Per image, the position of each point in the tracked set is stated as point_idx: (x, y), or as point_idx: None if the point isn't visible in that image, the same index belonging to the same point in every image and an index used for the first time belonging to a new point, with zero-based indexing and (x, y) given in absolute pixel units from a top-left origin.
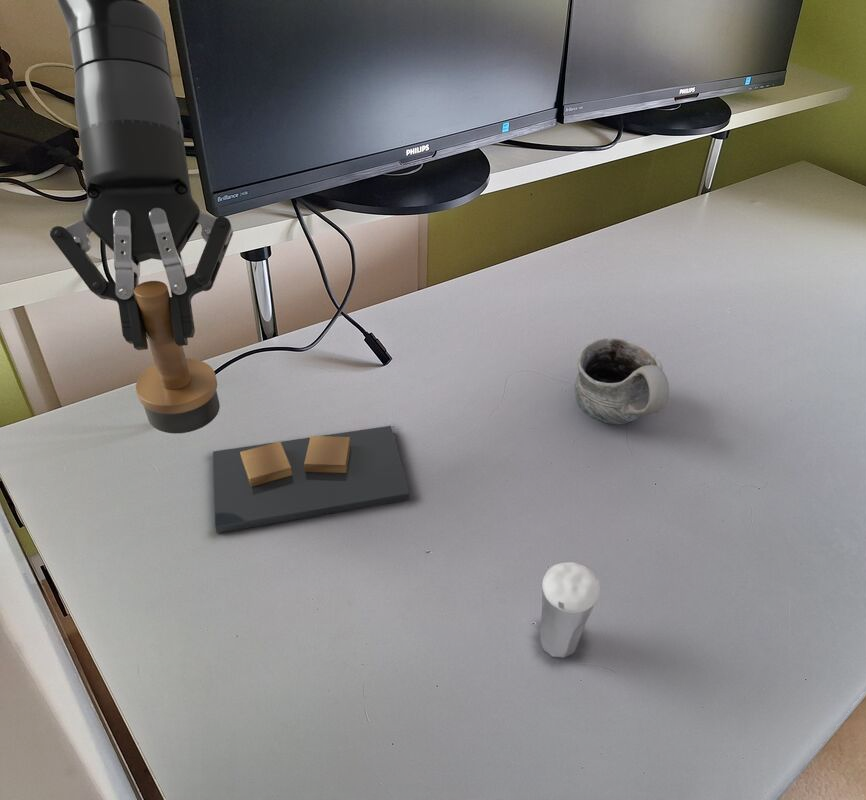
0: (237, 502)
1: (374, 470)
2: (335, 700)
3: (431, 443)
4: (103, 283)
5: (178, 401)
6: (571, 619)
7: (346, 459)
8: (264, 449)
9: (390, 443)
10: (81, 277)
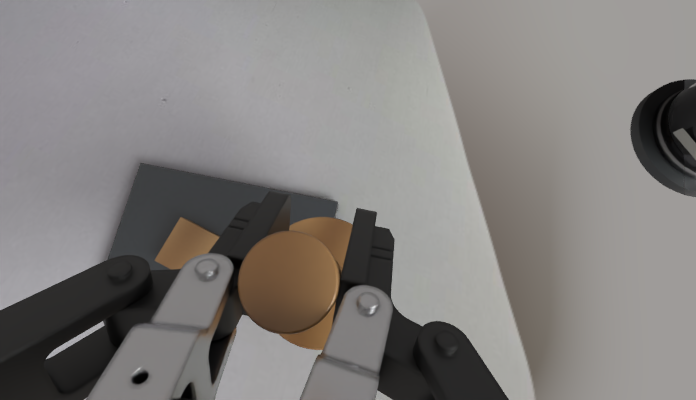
0: None
1: (156, 209)
2: (296, 8)
3: (78, 236)
4: (425, 345)
5: (328, 223)
6: None
7: (175, 226)
8: None
9: (118, 244)
10: (498, 387)
